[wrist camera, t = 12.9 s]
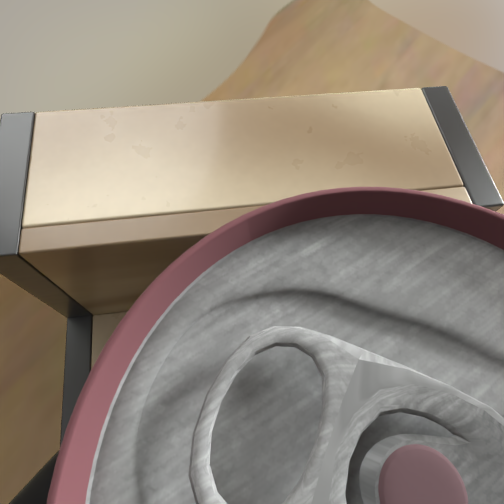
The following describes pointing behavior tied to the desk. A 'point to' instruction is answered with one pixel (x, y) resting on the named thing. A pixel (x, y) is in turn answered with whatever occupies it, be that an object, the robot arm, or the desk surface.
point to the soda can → (306, 363)
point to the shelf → (197, 186)
